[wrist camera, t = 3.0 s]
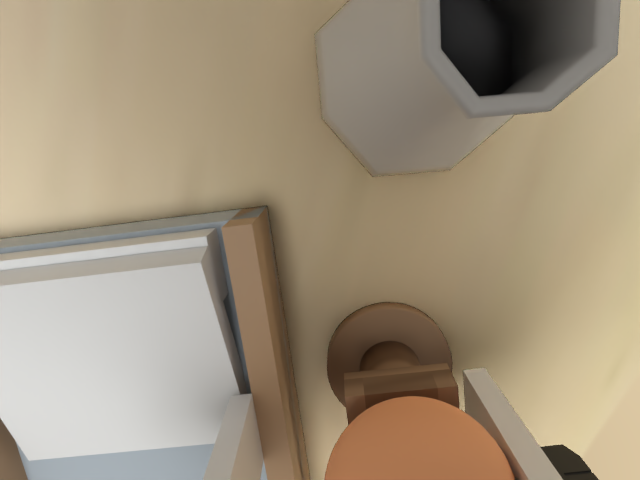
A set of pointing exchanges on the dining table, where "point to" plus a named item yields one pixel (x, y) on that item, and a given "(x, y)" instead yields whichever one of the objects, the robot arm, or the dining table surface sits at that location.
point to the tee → (389, 358)
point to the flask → (451, 72)
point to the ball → (416, 445)
